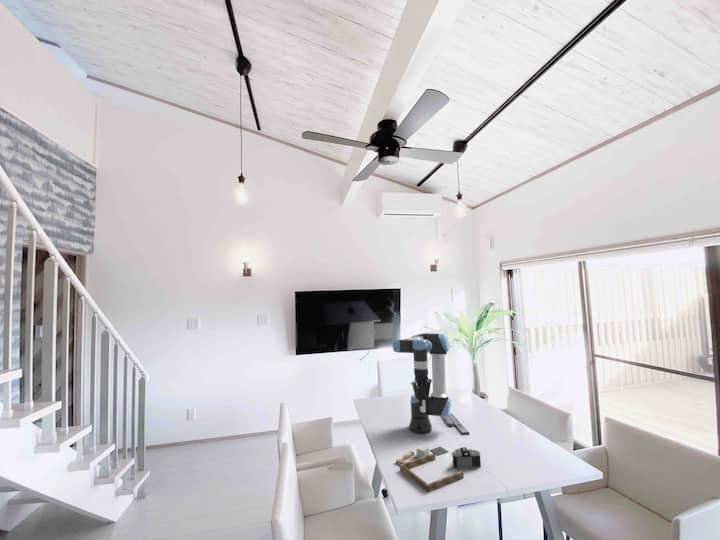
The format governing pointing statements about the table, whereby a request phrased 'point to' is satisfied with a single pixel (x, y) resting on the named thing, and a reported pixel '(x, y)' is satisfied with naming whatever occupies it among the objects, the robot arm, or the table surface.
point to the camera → (466, 458)
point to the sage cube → (422, 451)
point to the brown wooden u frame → (420, 482)
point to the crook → (404, 458)
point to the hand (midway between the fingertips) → (422, 411)
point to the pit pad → (438, 451)
